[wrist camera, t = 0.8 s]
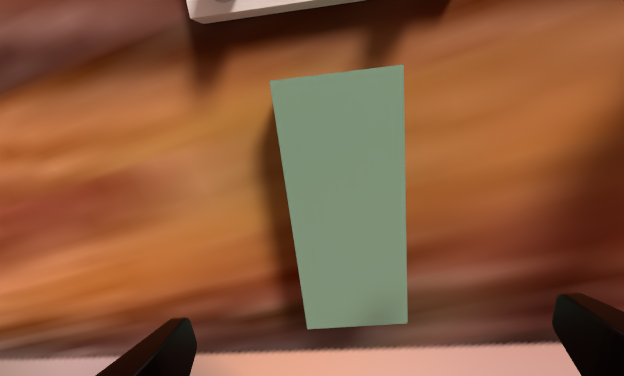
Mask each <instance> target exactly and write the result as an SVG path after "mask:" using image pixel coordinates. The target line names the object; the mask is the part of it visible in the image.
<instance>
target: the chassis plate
mask: <svg viewBox="0 0 624 376" xmlns="http://www.w3.org/2000/svg"><path fill="white" fill-rule="evenodd" d="M358 1H365V0H186V2H187V6H188V11H189V15H190V19H193V20H195V21H197V22H199V23H202V24H207V23H214V22H220V21H227V20H234V19H241V18H248V17H255V16H262V15H268V14H275V13H282V12H289V11H296V10H303V9H310V8H317V7H323V6H330V5H337V4H344V3H351V2H358Z"/></svg>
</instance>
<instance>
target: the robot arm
mask: <svg viewBox="0 0 624 376" xmlns="http://www.w3.org/2000/svg"><path fill="white" fill-rule="evenodd" d="M552 325H553V328H554V331H555V333H556V335H557V336H558V338H559V339H560V341H561V343H562V344H563V346H564V348H565V349H566V351H567V353H568V354H569V356H570V358H571V359H572V361H573V363H574V364H575V366H576V367H577V369H578V371H579V372H580V374H581V376H624V312H623V311H621V310H619V309H616V308H614V307H612V306H609V305H607V304H605V303H602V302H600V301H598V300H595V299H593V298H591V297H589V296H586V295H584V294H581V293H577V292H574V293H561V294H559V295H558V296H557V297H556V302H555V307H554V313H553V319H552ZM196 350H197V342H196V338H195V335H194V332H193V328H192V325H191V322H190V320H189V319H188V318H186V317H182V318H172V319H170V320H169V321H167V322H166V323H165V324H163V325H162V326H161V327H159V328H158V329H157V330H155V331H154V332H153V333H151V334H150V335H149V336H147V337H146V338H145V339H144V340H142V341H141V342H140V343H138V344H137V345H136V346H134V347H133V348H132V349H130V350H129V351H128V352H126V353H125V354H124V355H122V356H121V357H120V358H118V359H117V360H116V361H115V362H113V363H112V364H110V365H109V366H108V367H106V368H105V369H104V370H102V371H101V372H100V373H98V374H97V375H96V376H190V372H191V369H192V365H193V361H194V358H195V354H196Z"/></svg>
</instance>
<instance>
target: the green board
mask: <svg viewBox="0 0 624 376" xmlns="http://www.w3.org/2000/svg"><path fill="white" fill-rule="evenodd" d="M270 87H271V94H272V100H273V107H274V113H275V120H276V126H277V133H278V140H279V146H280V153H281V159H282V166H283V172H284V179H285V185H286V192H287V199H288V205H289V212H290V218H291V225H292V231H293V238H294V245H295V251H296V258H297V264H298V271H299V277H300V284H301V290H302V297H303V304H304V310H305V317H306V323H307V329H321V328H337V327H354V326H371V325H387V324H404V323H407V260H406V192H405V125H404V64H403V65H395V66H387V67H379V68H371V69H363V70H355V71H346V72H338V73H330V74H322V75H314V76H306V77H298V78H289V79H281V80H273V81H270Z"/></svg>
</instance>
